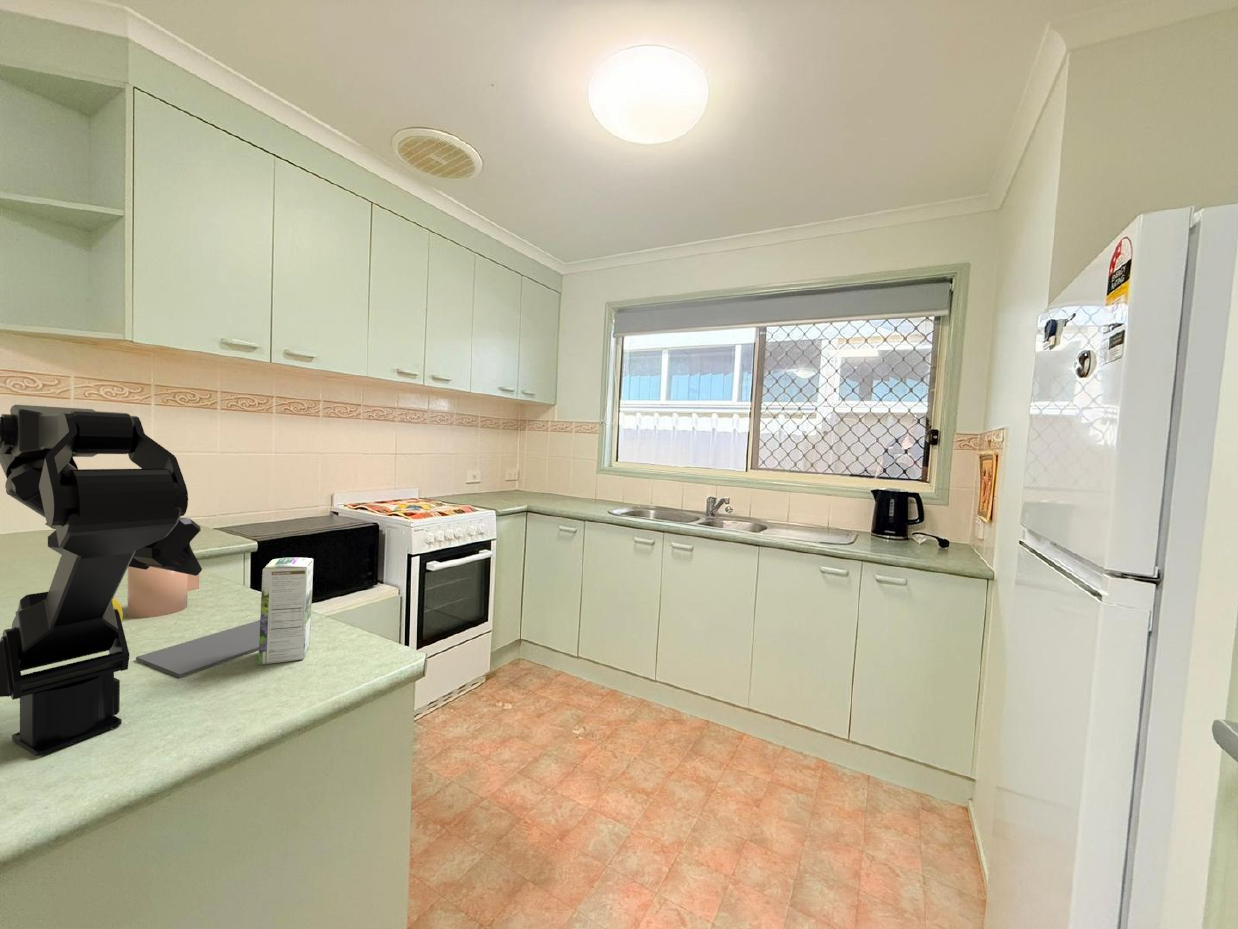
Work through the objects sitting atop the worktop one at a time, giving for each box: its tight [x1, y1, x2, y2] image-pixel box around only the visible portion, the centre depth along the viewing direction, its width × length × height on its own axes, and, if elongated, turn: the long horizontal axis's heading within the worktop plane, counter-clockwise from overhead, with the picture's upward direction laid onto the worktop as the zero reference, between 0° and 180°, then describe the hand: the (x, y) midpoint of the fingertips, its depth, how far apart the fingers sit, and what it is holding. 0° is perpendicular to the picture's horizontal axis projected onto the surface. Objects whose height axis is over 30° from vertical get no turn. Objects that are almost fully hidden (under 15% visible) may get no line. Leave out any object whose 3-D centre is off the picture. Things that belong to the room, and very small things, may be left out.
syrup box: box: [257, 557, 314, 665], centre depth 74 cm, size 6×6×14 cm
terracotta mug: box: [126, 567, 200, 619], centre depth 90 cm, size 10×8×9 cm
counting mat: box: [135, 619, 260, 679], centre depth 76 cm, size 18×11×1 cm, turn 158°
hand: (173, 569), depth 70 cm, fingers open, 9 cm apart
